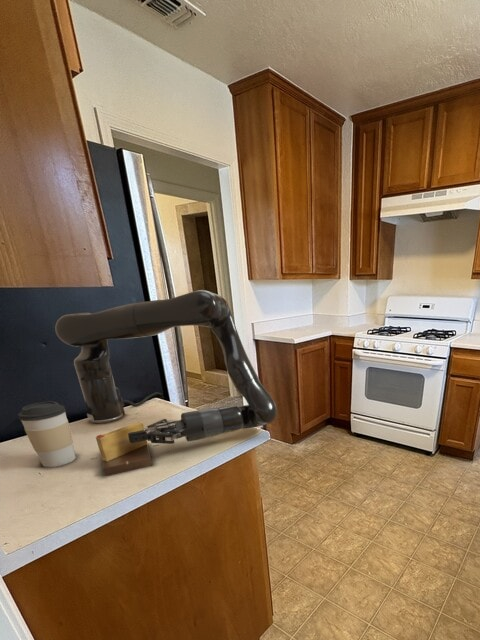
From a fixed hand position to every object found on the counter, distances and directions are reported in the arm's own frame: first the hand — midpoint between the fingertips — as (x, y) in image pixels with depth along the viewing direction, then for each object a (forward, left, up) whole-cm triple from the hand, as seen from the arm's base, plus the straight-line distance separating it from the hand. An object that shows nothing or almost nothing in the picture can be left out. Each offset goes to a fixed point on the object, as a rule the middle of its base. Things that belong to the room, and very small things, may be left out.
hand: (129, 438), depth 85 cm
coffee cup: (+5, -19, -7) cm, 21 cm away
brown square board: (-1, -3, -7) cm, 7 cm away
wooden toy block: (-1, -3, -5) cm, 6 cm away
